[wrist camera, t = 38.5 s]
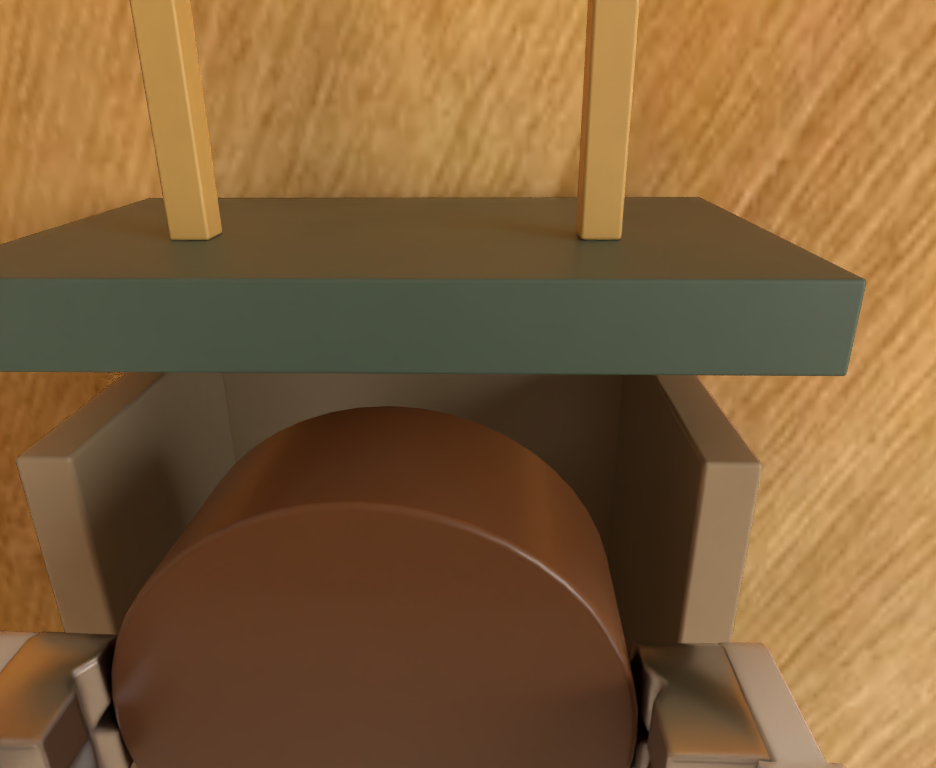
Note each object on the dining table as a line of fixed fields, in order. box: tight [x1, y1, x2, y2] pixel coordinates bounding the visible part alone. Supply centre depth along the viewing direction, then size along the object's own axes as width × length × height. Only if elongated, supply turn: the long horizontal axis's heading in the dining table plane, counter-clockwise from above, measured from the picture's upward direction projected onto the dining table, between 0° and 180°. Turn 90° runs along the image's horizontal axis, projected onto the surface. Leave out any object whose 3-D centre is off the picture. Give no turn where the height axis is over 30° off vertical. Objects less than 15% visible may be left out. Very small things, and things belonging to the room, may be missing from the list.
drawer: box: [0, 0, 866, 768], centre depth 13 cm, size 19×11×7 cm, turn 0°
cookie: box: [112, 406, 638, 768], centre depth 9 cm, size 6×6×2 cm
